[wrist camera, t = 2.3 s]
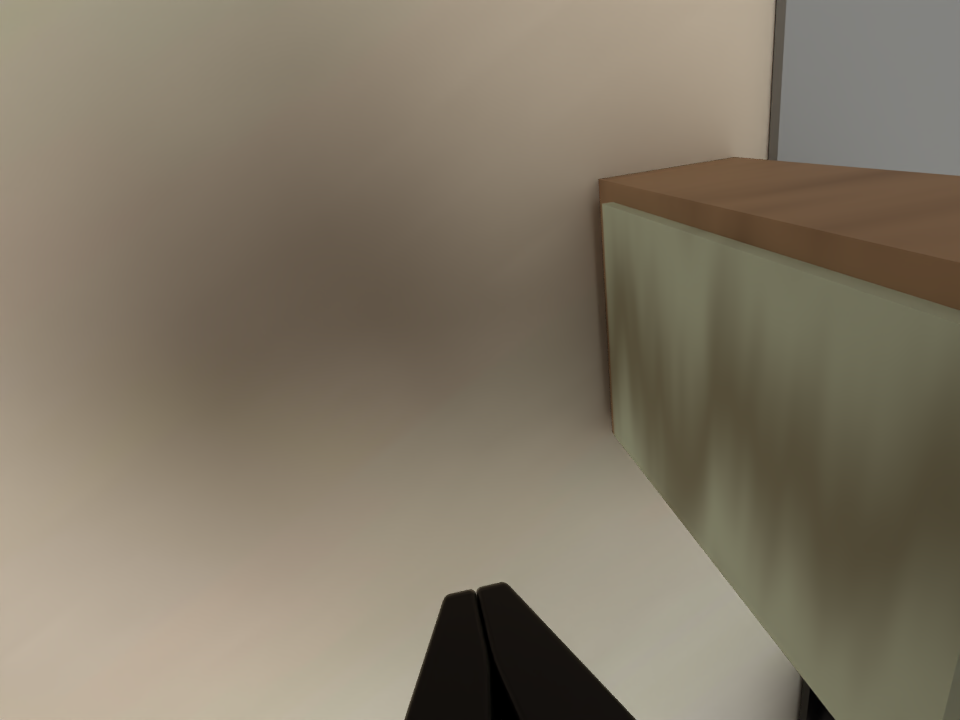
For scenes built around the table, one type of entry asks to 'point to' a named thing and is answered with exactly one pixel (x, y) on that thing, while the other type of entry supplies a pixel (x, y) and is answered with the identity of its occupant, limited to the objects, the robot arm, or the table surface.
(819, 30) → the mat
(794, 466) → the brown green box
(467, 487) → the table surface
